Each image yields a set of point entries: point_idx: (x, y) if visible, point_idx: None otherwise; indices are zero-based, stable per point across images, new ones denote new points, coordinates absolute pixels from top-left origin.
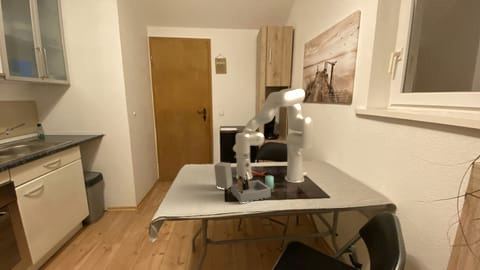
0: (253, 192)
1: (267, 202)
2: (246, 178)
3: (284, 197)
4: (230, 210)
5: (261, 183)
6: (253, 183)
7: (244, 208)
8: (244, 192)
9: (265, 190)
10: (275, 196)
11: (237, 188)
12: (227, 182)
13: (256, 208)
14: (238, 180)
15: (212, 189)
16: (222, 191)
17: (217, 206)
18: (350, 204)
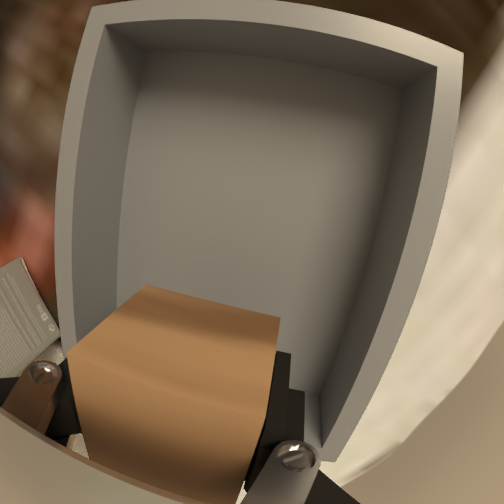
0: (397, 338)
1: (474, 196)
2: (106, 369)
3: (478, 8)
4: (340, 469)
5: (213, 16)
6: (102, 94)
7: (396, 408)
8: (170, 263)
9: (451, 139)
10: (427, 36)
11: (99, 316)
12: (11, 362)
13: (465, 343)
14: (131, 476)
15: (21, 373)
16: (57, 356)
17: (243, 485)
18: None
